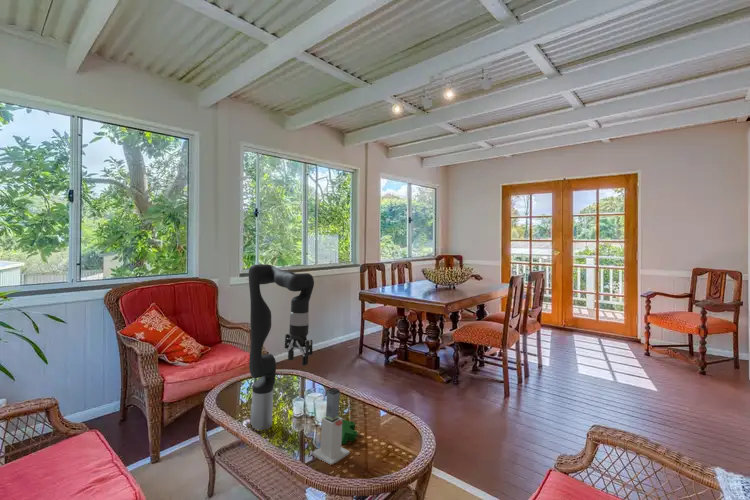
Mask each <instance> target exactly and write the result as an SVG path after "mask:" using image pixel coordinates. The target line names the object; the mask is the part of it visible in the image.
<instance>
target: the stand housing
mask: <svg viewBox="0 0 750 500" xmlns="http://www.w3.org/2000/svg"><path fill="white" fill-rule="evenodd" d="M342 420H344V418H343V417H340V416H339V417H338V420H336V421H334V422H330V421H328V420H326V416H324V417H322V418H321V426H320V427H321V428H320V447H318V448H317V449H315V450H313V451H311V456H313V457H315V458H316V459H319V460H320V461H321V460H322V461H321V462H323V461H324V462H323V463H325V462H326V463H328V464H330V465H331V464H333V465H334V463H335V464H336V463H338V462H339V461H341V460H342V459H344V458H345V457H347V456H348V455H350V453H351V451H349V450H348V449H346V448H344V447H342V444H341V442H342V424H343V421H342ZM326 463H325V464H326ZM328 464H327V465H328ZM330 465H329V466H330Z"/></svg>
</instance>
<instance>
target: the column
mask: <svg viewBox="0 0 750 500" xmlns="http://www.w3.org/2000/svg"><path fill="white" fill-rule="evenodd" d="M325 405H326V409H325V412H326V413H325V417H326V420H328V421H330V422H334V421H336V420H338V417H340V415H339V414H340V413H339V409H340V389H339V388H337V387H331V388H329V389H328V388H327V390H326V404H325Z"/></svg>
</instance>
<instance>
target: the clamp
mask: <svg viewBox="0 0 750 500" xmlns="http://www.w3.org/2000/svg"><path fill="white" fill-rule="evenodd" d="M342 421H343V424H342V442H341V445H347V444H348V441H349V442H355V440H356V438H357V437H358V434H359V432H358V430H355V429H356V423H355V422H353V421H350V420H345V419H342Z"/></svg>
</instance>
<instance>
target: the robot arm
mask: <svg viewBox="0 0 750 500" xmlns="http://www.w3.org/2000/svg"><path fill="white" fill-rule="evenodd" d="M273 283H275V284H276V285H277V286H278V287H282V288H286V289H288V290H289V291H291V292H299V294H298V295H296V296H294V297H292V299H291V302H290V305H291V306H290V314H289V315H290V316H289V329H288V331H289V333H287V334H285V338H284V349H286V350H287V351H288V352H287V359H288V361H293V359H294V357H295V356H294V355H295V348H296V349H298V350H299V352H300V353H301V354H302V359H301V365H302V367H303V366H304V367H305V366H307V365H308V363H309V356H312V355H313V339H308V338H307V336H308V335H309V327H310V326H309V325H310V317H309V316H310V315H309V314H310V313H309V307H310V299H311V297H312V293H313V291H314V286H315V280H314V277H313V275H312V274H310V273H307V272H306V273H295V272H293V271H289V270H282V269H279V268H277V267H275V266H274V265H271V264H265V263H264V264H251V266H250V267H249V269H248V286H249V294H250V295H249V296H250V324H249V325H250V349H249V350H250V351H249V361H248V365H249V366H248V368H249V369H248V370H249V374H250V376H251V377H252V378H254V379H257V378H258V379H257V380H256V381H255V382H253V384H252V386H251V387H252V388H251V389H252V390H251V391H252V393H251V405H250V417H249V418H250V421H249V423H250V422H251V425H252V427H253V428H255V429H259V430H264V429H267V430H269V429H270V427H271V428H272V426H273V425H272V424H273V407H274V406H273V404H274V403H273V402H274V400H273V399H274V398H273V397H274V387H275V383H276V382H275V381H276V375H277V374H276V371H277V362H276V357H275V356H274V355H273V354H271V353H266V354H263V352H262V351H263V347H264V343H265V341H266V339H267V338H268V336H269V333H270V332H271V329H272V312H271V309H270V307H269V306H268V304H267V302H266V301H265V300H264V298H263V296H262V291H261V285H268V284H273ZM251 425H250V426H251ZM271 425H272V426H271ZM268 428H269V429H268ZM264 431H265V430H264Z"/></svg>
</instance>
